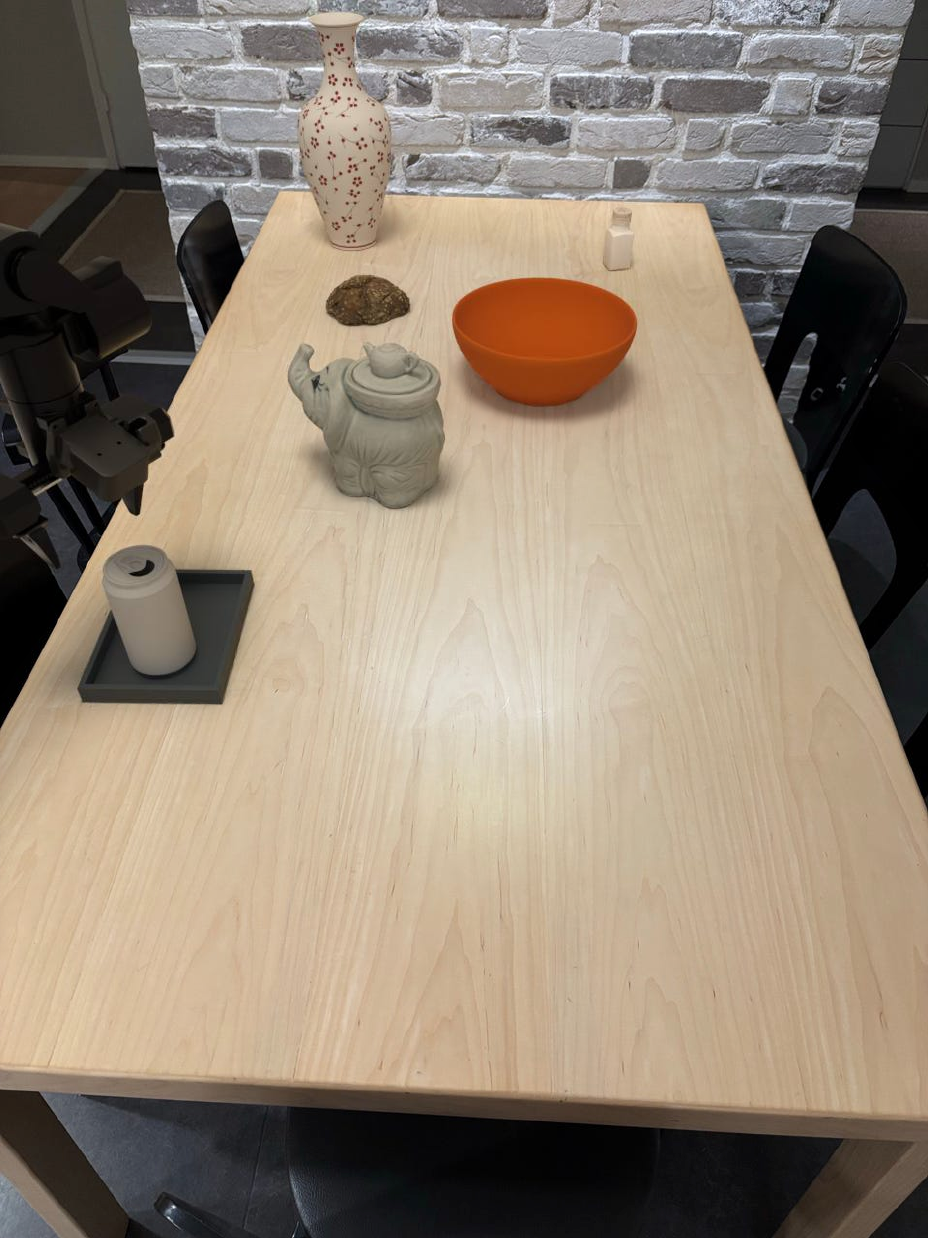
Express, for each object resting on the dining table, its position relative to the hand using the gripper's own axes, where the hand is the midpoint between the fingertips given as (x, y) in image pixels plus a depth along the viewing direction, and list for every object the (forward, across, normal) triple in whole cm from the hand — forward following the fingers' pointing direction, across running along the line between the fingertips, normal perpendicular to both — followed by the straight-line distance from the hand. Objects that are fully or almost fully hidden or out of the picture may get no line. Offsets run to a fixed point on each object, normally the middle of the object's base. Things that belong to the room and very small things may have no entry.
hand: (96, 539), depth 83 cm
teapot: (+13, +36, -3) cm, 39 cm away
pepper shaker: (+13, +112, 0) cm, 112 cm away
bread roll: (+13, +74, +26) cm, 79 cm away
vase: (+13, +95, +45) cm, 106 cm away
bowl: (+13, +68, -9) cm, 70 cm away
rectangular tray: (+13, +2, -4) cm, 14 cm away
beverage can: (+13, 0, -5) cm, 14 cm away
